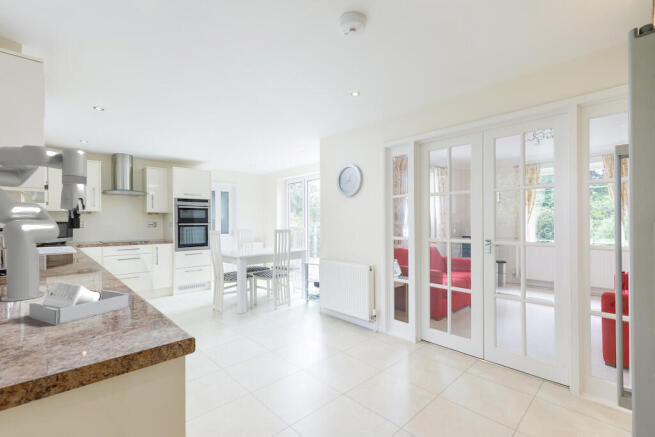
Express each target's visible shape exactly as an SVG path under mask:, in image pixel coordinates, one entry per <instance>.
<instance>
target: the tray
mask: <svg viewBox="0 0 655 437" xmlns="http://www.w3.org/2000/svg"><path fill="white" fill-rule="evenodd" d="M100 293H101V298H100V300H98V301H94V302H89V303H84V304H79V305H75V306H70V307H65V308H61V309H57V308H52V307H48V306H45V305H43V304H40V303H35V302H32V303H29V305H28V306H29V307H28V308H29V309H28V311H29V315H28V316H29V317H28V318H29V319H33V320H35V321H39V322H43V323H47V324H49V325H53V326H59V325H63V324H64V325H65V324H67V323H71V322H76V321H80V320H85V319H87V318H92V317H95V316H99V315H104V314H107V313H111V312H115V311H119V310H123V309H127V308H130V307H132V294H131V293H126V292H120V291H114V290H109V289H108V290H107V289H101V292H100Z"/></svg>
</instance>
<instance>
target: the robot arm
mask: <svg viewBox="0 0 655 437" xmlns="http://www.w3.org/2000/svg"><path fill="white" fill-rule="evenodd" d="M40 167H43V168H50V169H57V170H61V185H62V187H61V194H60V210H61V211H65V213H66V214H67V219H68V220H67V229H72V230H73V229H77V230H78V229H80V228H81V215H82V214H83V213H84V211H85V210H86V208H87V191H86V190H87V189H86V186H88V185H87V182H88V178H87V177H88V155H87V152H86V151H85V150H81V149H77V148H64V149H63V150H62V149H58V148H57V149H56V148H53V147H48V146H42V145H30V144H29V145H28V144H27V145H23V146H0V224H3V227H2V236H3V239H4V243H5V251H6V253H5V255H6V256H5V258H6V294H5V295H4V296H1V297H0V301H1V302H17V301H27V300H33V299H37V298H42V297H44V296H45V291H40V252H39V249H38V248H37V247H36V245H35V244H34V243H47V242H53V241H54V240H56V239H58V238H59V235H60V228H59V225H58V224H57V222H56V221H55V219H54V218H53V217H52V216H51V215H50V213H49V212H48V211H47V210H46V209H45V207H43V206H42V205H40V204H38V203H37V202H28V201H27V202H26V201H25V202H23V201H17V200H15V199H14V198H13V197H12V196H11V194H10V193H9V192H7V190H5V189H3V188H2V187H9V188H10V187H11V188H18V187H21V186H22V185H24V184H25V183H26V182H27V181H28V180H29V179H30V178H31V177H32V176H33V175H34V173H36V171H38V169H39V168H40Z"/></svg>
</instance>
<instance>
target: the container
mask: <svg viewBox="0 0 655 437" xmlns="http://www.w3.org/2000/svg"><path fill="white" fill-rule="evenodd" d="M98 300H101V292H100V291H96V290H91V289H87V288H86V287H85V286H83V285H81V284H75V283H69V282H65V281H60V280H54V282H53V284H52V285H51V287H50V289H49V291H48V293H47V295H46V297H45V299H44V300H43V303H42V305H44V306H48V307H52V308H57V309H61V308H65V307H70V306H75V305H79V304H84V303H89V302H94V301H98Z"/></svg>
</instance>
